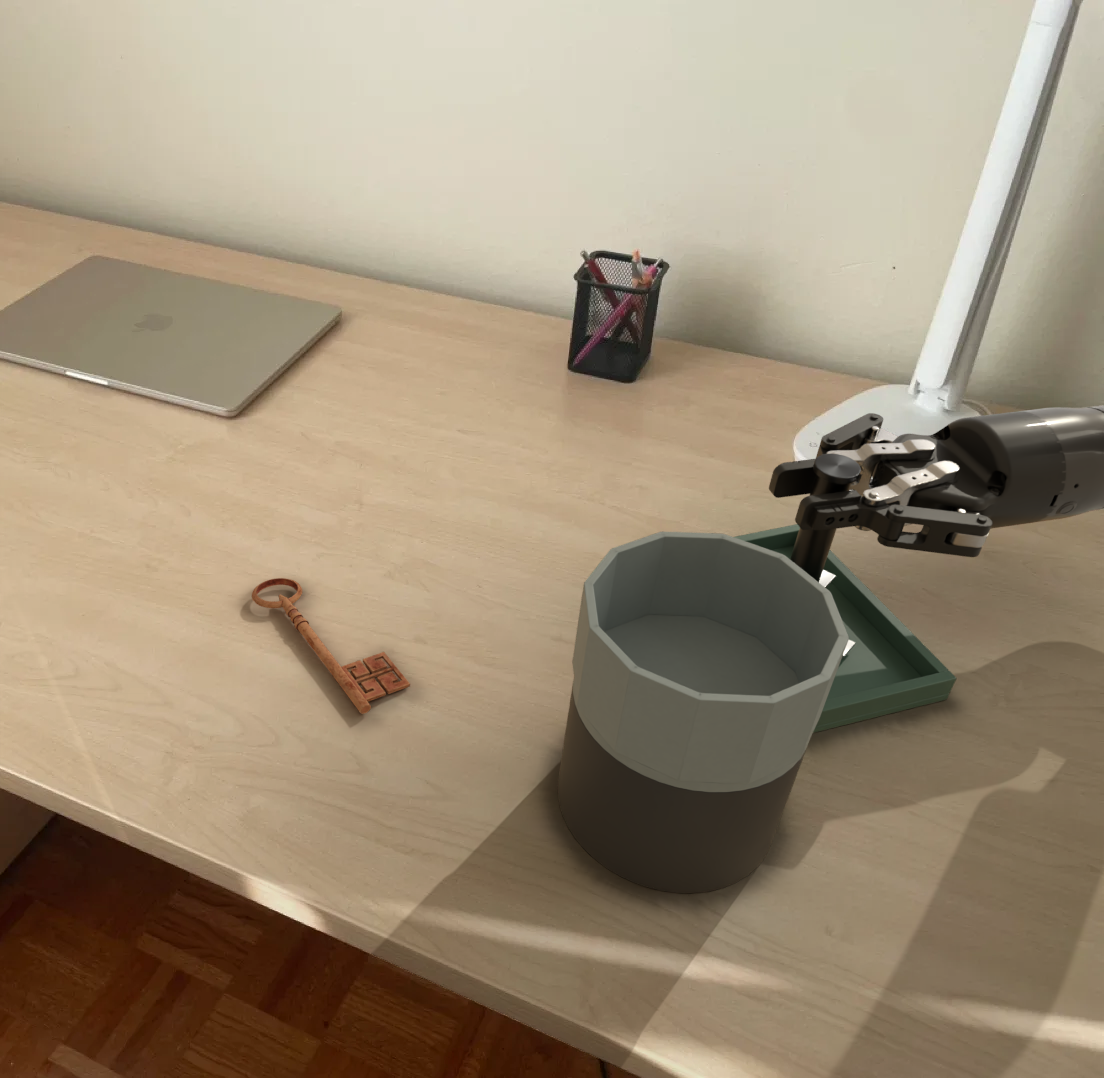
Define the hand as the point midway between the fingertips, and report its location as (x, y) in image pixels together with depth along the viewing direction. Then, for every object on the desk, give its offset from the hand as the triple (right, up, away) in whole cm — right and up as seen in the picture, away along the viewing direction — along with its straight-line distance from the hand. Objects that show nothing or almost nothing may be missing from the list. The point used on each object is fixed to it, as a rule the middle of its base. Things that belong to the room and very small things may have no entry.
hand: (788, 497), depth 68 cm
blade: (+3, -9, +8) cm, 12 cm away
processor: (-9, -19, -3) cm, 21 cm away
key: (-30, -10, +8) cm, 33 cm away
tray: (+3, -9, +8) cm, 13 cm away
